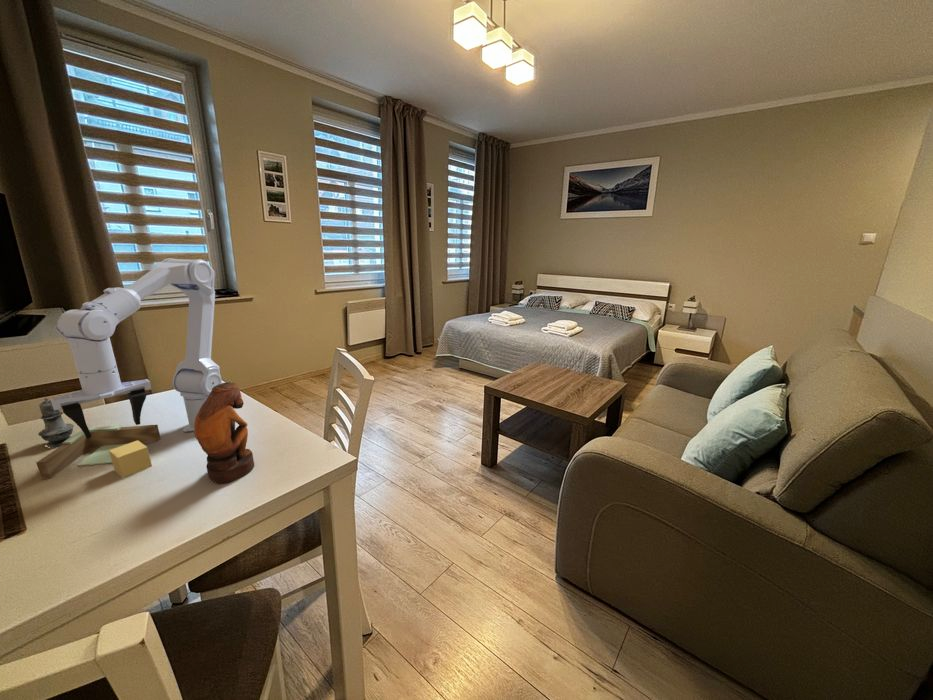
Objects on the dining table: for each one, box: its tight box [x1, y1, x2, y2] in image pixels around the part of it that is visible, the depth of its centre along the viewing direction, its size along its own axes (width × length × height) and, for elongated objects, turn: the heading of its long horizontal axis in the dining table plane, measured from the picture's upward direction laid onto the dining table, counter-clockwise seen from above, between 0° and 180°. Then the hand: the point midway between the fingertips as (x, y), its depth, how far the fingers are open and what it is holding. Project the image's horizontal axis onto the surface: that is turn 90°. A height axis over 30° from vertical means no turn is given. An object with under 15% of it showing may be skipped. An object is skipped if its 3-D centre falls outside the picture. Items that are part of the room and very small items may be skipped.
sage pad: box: [77, 444, 126, 467], centre depth 86 cm, size 8×8×1 cm
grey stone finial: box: [37, 397, 75, 449], centre depth 88 cm, size 6×6×12 cm
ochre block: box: [109, 440, 153, 478], centre depth 81 cm, size 5×5×5 cm
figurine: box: [193, 381, 255, 484], centre depth 79 cm, size 9×10×20 cm
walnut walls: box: [35, 424, 162, 480], centre depth 84 cm, size 15×14×4 cm
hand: (113, 429), depth 78 cm, fingers open, 7 cm apart
